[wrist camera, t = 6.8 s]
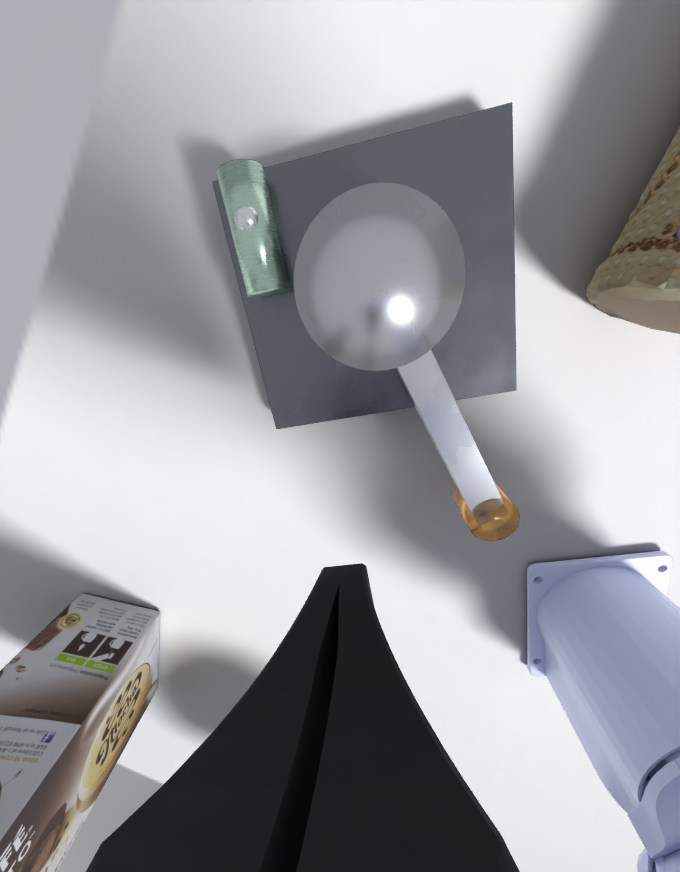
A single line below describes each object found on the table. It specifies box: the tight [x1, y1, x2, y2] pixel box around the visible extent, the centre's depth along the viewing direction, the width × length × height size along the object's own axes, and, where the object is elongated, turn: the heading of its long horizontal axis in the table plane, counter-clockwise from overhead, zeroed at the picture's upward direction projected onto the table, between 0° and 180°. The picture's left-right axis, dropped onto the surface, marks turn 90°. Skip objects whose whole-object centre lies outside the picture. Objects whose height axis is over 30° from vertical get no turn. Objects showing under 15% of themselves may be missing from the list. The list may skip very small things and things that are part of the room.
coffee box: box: [0, 594, 160, 872], centre depth 18 cm, size 9×6×16 cm
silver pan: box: [294, 182, 520, 541], centre depth 14 cm, size 15×6×3 cm, turn 30°
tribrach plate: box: [212, 102, 516, 429], centre depth 14 cm, size 11×12×4 cm
